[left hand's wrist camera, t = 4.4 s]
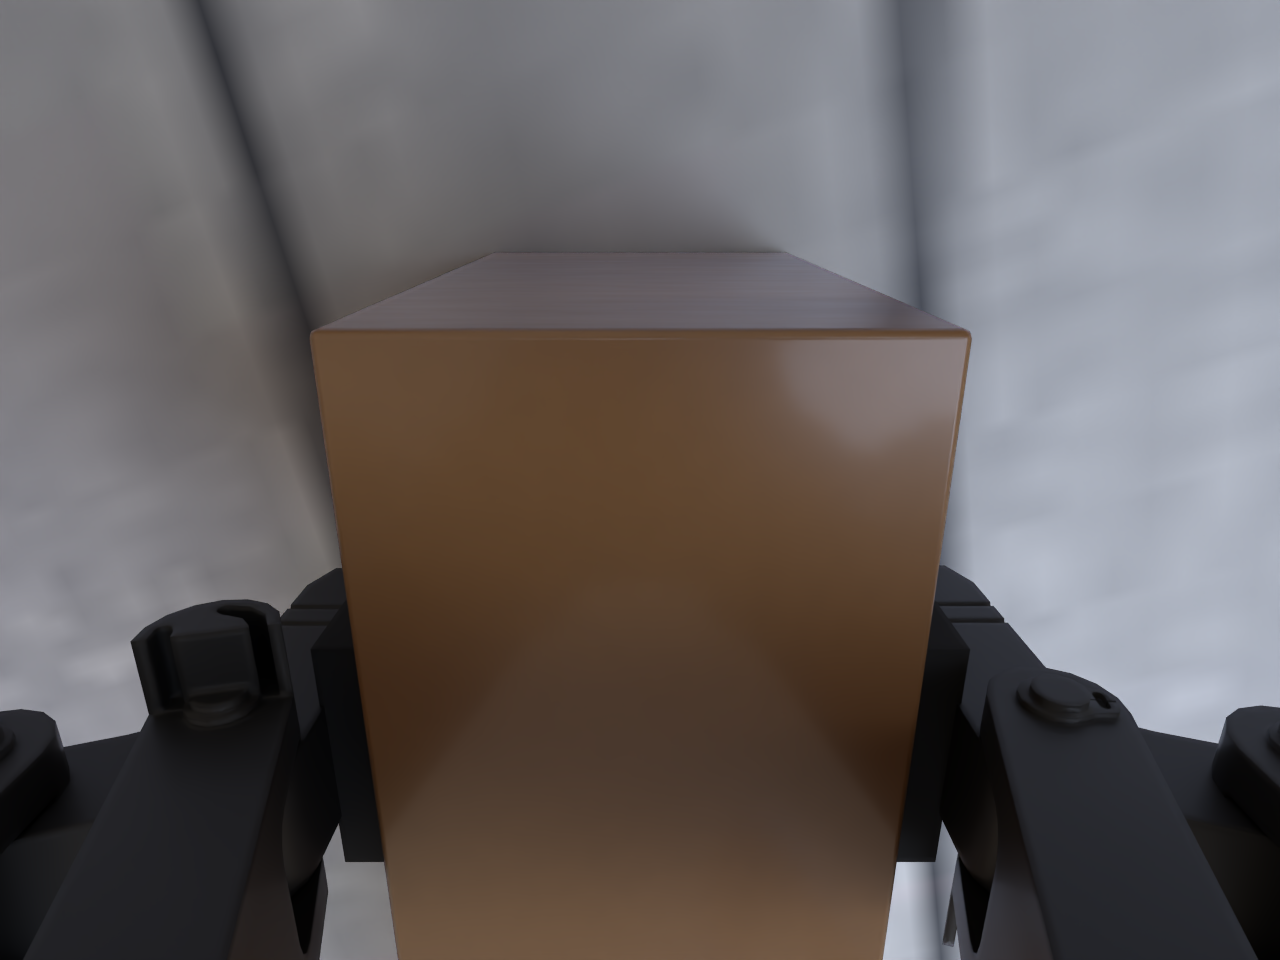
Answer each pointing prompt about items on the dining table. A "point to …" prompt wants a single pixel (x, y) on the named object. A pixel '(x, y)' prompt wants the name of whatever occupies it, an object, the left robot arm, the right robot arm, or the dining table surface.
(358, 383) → the beam
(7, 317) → the dining table surface
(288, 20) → the dining table surface
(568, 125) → the dining table surface
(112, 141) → the dining table surface
